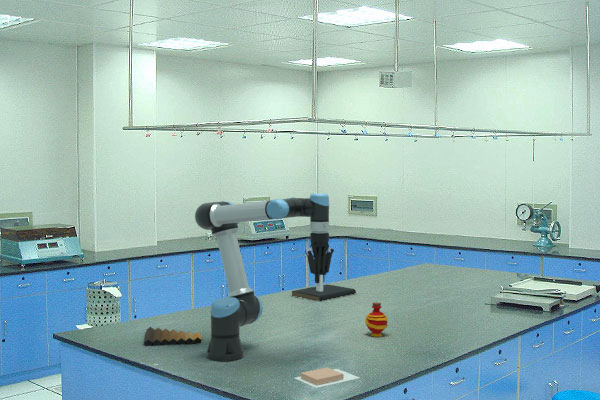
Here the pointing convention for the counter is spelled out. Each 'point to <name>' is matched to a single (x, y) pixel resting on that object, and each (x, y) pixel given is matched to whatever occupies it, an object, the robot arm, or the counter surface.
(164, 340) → the pan flute
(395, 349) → the counter surface
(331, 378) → the terracotta tile
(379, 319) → the potion bottle
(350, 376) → the white rectangular board
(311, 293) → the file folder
